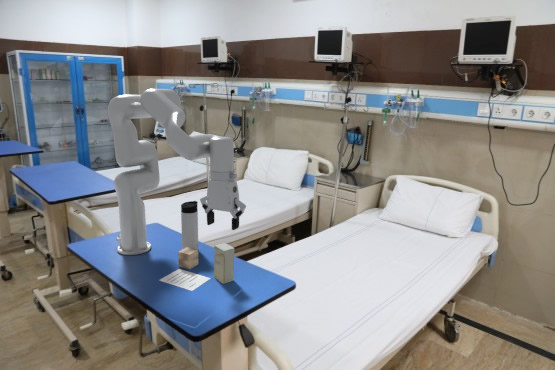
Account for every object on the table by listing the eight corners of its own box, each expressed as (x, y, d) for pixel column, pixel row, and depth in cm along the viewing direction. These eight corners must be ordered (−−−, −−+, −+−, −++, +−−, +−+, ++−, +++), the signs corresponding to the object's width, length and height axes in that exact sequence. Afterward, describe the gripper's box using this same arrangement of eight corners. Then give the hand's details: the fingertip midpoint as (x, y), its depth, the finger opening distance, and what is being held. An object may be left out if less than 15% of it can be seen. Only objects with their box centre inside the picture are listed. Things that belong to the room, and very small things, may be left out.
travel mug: (202, 250, 157) (201, 202, 152) (188, 255, 152) (187, 206, 147) (192, 246, 161) (191, 199, 156) (179, 251, 156) (177, 202, 151)
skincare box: (213, 277, 135) (213, 244, 132) (224, 274, 138) (224, 241, 135) (223, 285, 131) (223, 251, 128) (234, 281, 134) (234, 247, 131)
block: (178, 267, 143) (178, 251, 141) (187, 262, 147) (187, 247, 146) (189, 270, 140) (189, 254, 139) (198, 265, 145) (198, 249, 143)
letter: (158, 281, 132) (158, 280, 132) (179, 269, 141) (178, 268, 141) (192, 291, 126) (192, 290, 126) (210, 279, 134) (210, 278, 134)
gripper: (251, 176, 126) (251, 227, 130) (207, 170, 133) (208, 219, 137) (238, 181, 119) (239, 234, 123) (193, 174, 127) (194, 225, 131)
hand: (222, 226), depth 130 cm, fingers open, 9 cm apart
